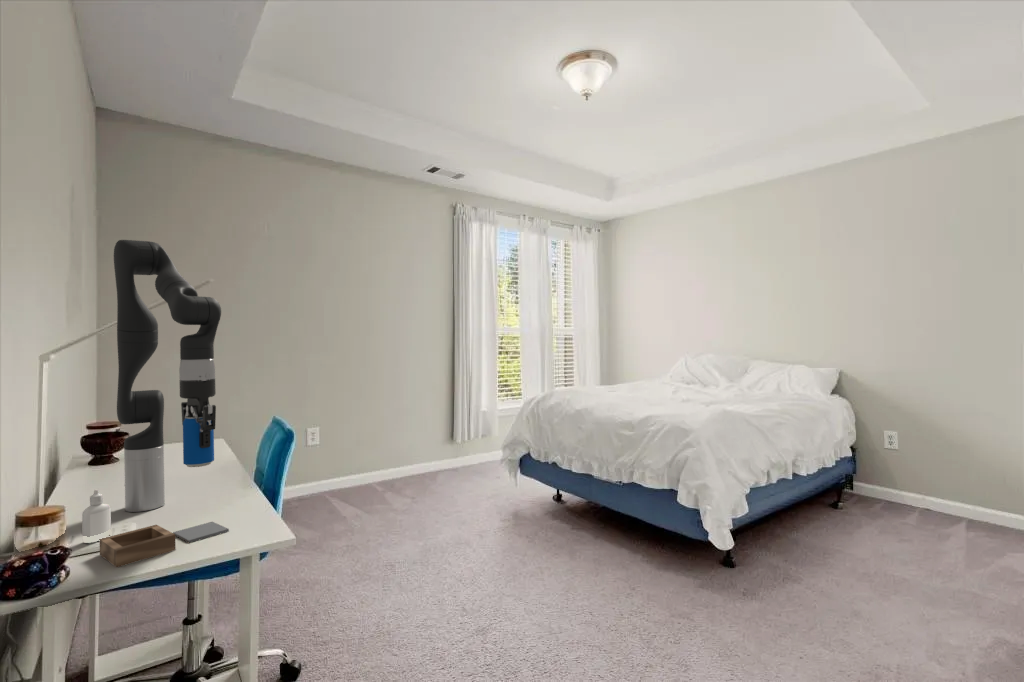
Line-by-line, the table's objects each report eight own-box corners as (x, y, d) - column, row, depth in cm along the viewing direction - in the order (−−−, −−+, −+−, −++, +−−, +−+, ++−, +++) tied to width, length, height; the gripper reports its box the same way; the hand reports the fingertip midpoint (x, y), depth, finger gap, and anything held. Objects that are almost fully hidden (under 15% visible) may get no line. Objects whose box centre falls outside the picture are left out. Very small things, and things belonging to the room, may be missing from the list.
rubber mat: (173, 534, 127) (173, 532, 127) (212, 523, 134) (212, 521, 134) (188, 542, 122) (188, 540, 122) (228, 531, 129) (228, 528, 129)
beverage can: (208, 460, 132) (207, 413, 132) (218, 464, 128) (217, 415, 128) (179, 465, 127) (178, 416, 127) (189, 469, 123) (188, 418, 123)
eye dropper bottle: (113, 538, 125) (113, 488, 125) (84, 545, 121) (83, 494, 121) (109, 534, 128) (108, 485, 128) (80, 541, 124) (79, 490, 124)
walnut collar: (99, 554, 115) (99, 539, 115) (156, 539, 124) (156, 524, 124) (116, 567, 109) (116, 550, 109) (175, 549, 118) (175, 534, 118)
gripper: (168, 377, 129) (169, 445, 129) (193, 380, 120) (194, 452, 120) (201, 375, 135) (202, 440, 135) (227, 377, 126) (228, 446, 126)
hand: (198, 445), depth 128 cm, fingers closed on beverage can, 6 cm apart
